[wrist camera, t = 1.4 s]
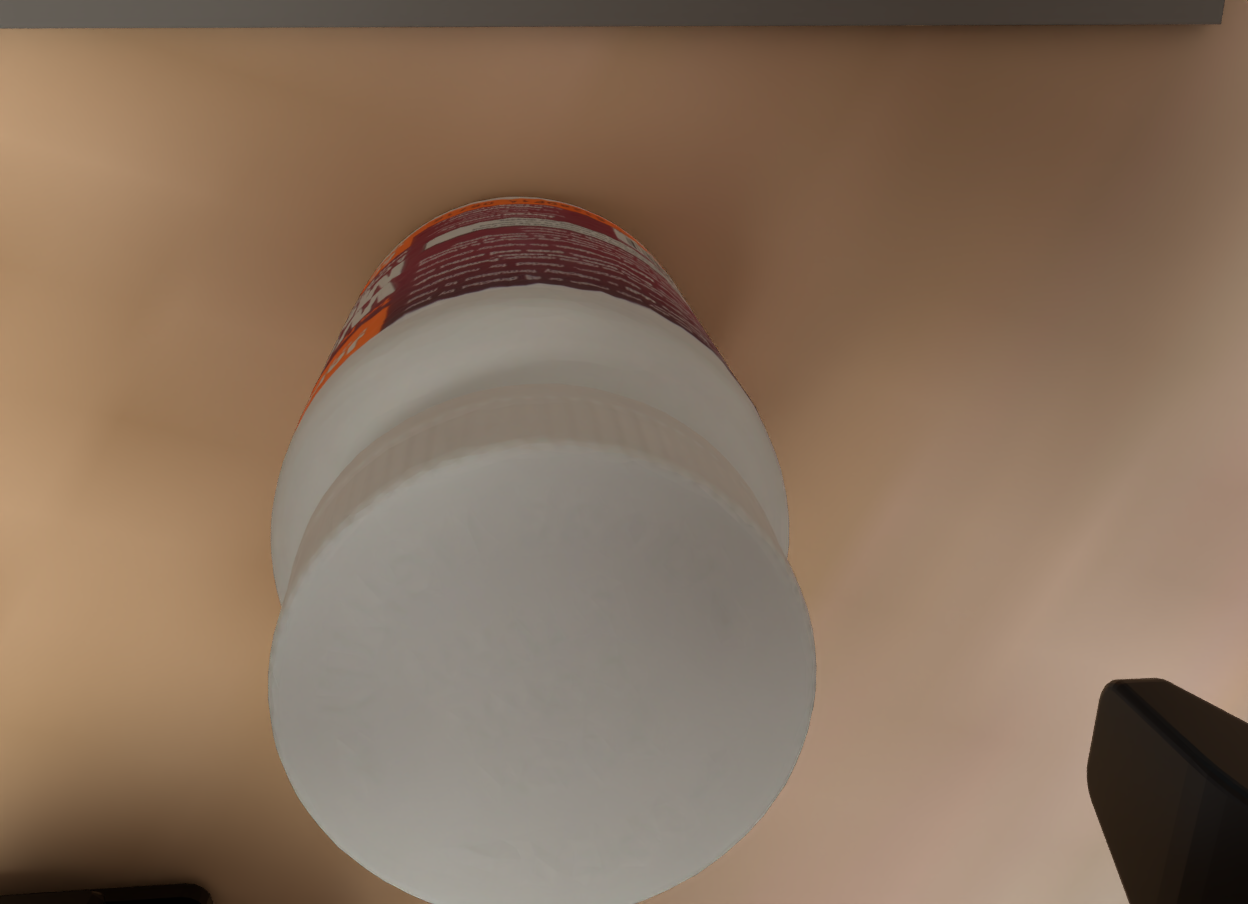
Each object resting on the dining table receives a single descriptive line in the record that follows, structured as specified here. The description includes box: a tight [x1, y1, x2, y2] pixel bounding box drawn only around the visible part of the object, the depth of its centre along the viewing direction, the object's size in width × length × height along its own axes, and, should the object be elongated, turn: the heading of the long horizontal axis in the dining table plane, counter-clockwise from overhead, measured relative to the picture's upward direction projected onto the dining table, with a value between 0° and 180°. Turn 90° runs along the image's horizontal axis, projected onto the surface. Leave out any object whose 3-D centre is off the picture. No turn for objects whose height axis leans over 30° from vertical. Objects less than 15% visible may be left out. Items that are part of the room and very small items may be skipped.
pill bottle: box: [268, 197, 816, 904], centre depth 16 cm, size 6×6×11 cm
